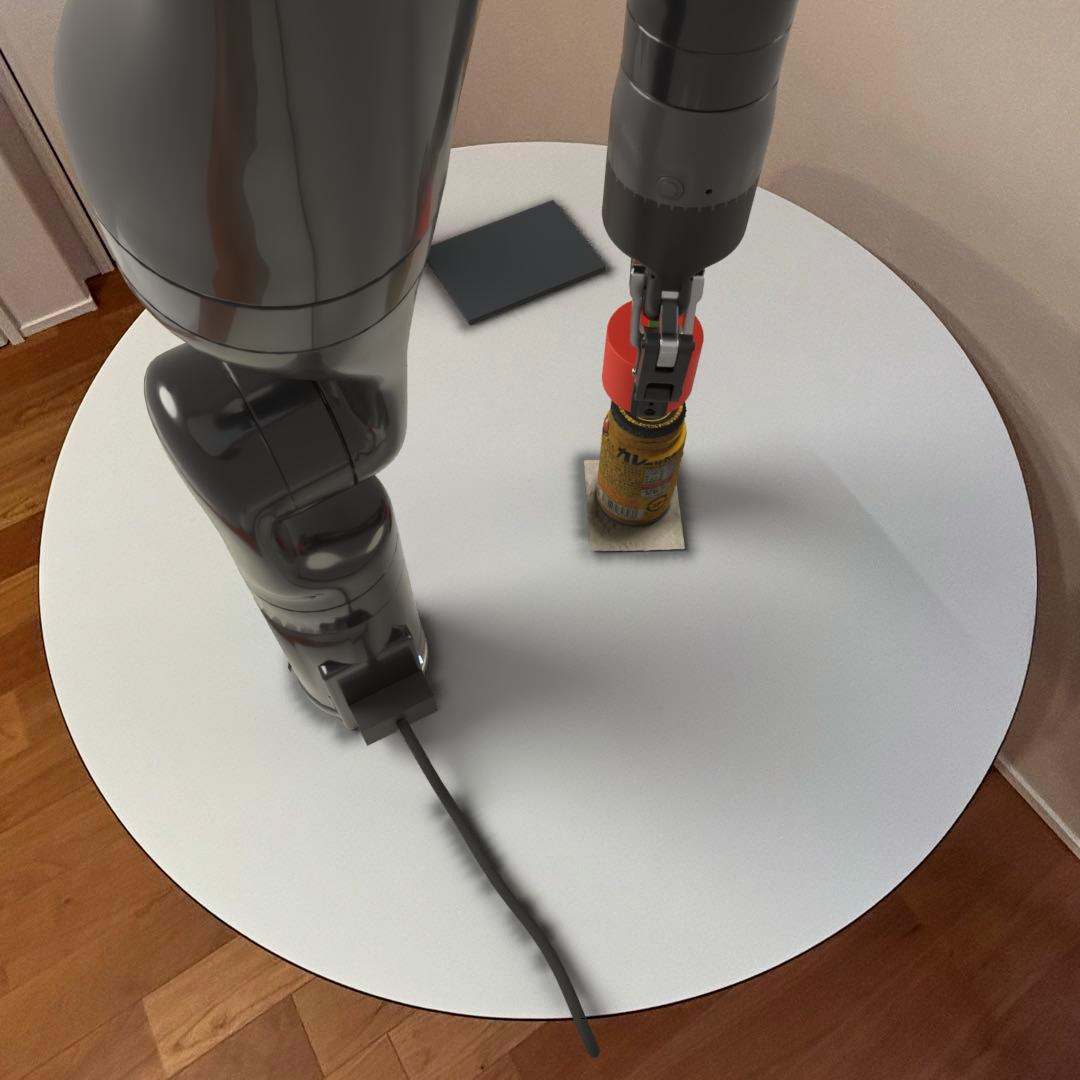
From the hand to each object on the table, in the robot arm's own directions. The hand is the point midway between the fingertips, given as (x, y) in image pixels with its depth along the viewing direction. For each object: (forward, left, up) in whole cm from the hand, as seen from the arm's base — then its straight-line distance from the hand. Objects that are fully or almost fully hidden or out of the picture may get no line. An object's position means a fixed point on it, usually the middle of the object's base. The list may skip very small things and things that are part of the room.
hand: (647, 370), depth 62 cm
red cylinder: (0, 0, -1) cm, 1 cm away
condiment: (+1, -1, -18) cm, 18 cm away
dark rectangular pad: (+29, -5, -18) cm, 34 cm away
